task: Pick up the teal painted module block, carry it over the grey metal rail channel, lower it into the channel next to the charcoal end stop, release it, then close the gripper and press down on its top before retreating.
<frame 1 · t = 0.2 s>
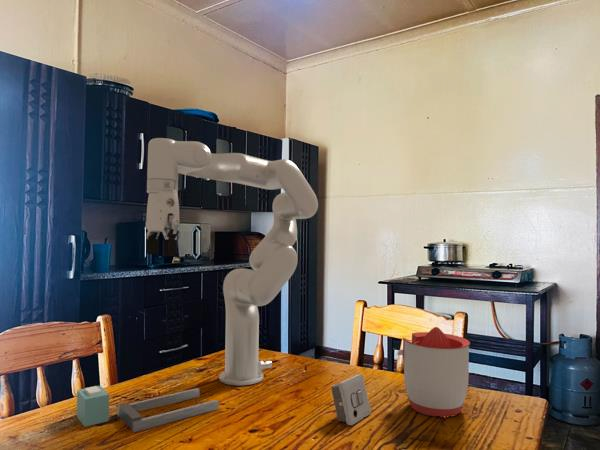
hand: (160, 255, 114), 36 cm above the table, tool pointing down, fingers open, 9 cm apart
electrical switch: (350, 418, 104), on the table
module: (92, 418, 101), on the table
citrus juicer: (431, 408, 110), on the table
rail channel: (168, 412, 105), on the table
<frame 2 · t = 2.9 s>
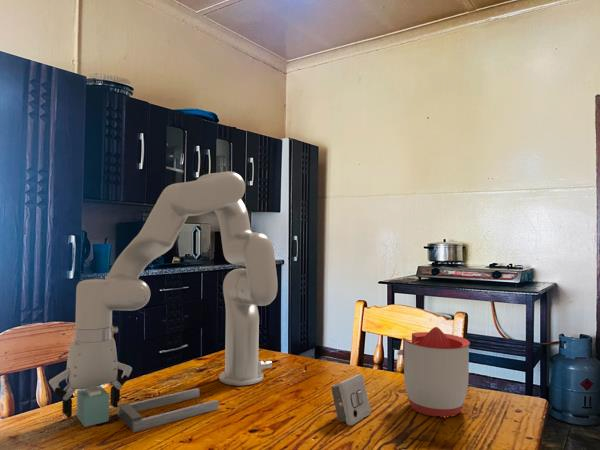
hand: (91, 410, 101), 2 cm above the table, tool pointing down, fingers open, 9 cm apart
nothing on the table moved.
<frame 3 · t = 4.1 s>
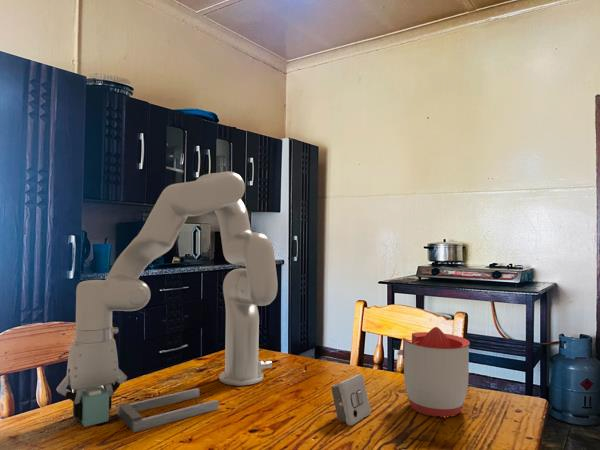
hand: (92, 415, 101), 1 cm above the table, tool pointing down, fingers closed on module, 5 cm apart
module: (92, 418, 101), on the table, touching gripper
everything else where it was.
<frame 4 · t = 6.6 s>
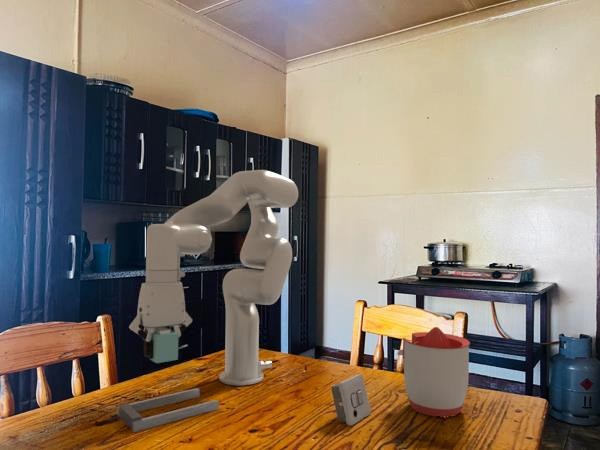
hand: (161, 354, 104), 14 cm above the table, tool pointing down, fingers closed on module, 5 cm apart
module: (161, 357, 104), point 13 cm above the table, touching gripper
everything else where it was.
when the fingers open (2 cm above the table, at t = 9.4 s): module drops 1 cm, resting in rail channel.
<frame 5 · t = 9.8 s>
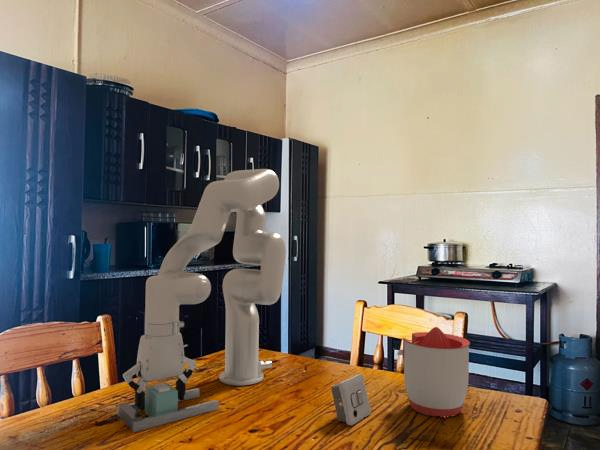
hand: (160, 403, 104), 3 cm above the table, tool pointing down, fingers open, 9 cm apart
module: (160, 414, 104), resting in rail channel
everything else where it was.
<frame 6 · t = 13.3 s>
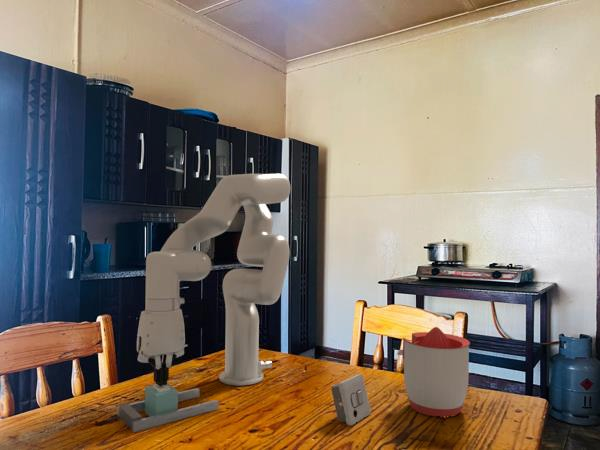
hand: (161, 383, 104), 7 cm above the table, tool pointing down, fingers closed
nothing on the table moved.
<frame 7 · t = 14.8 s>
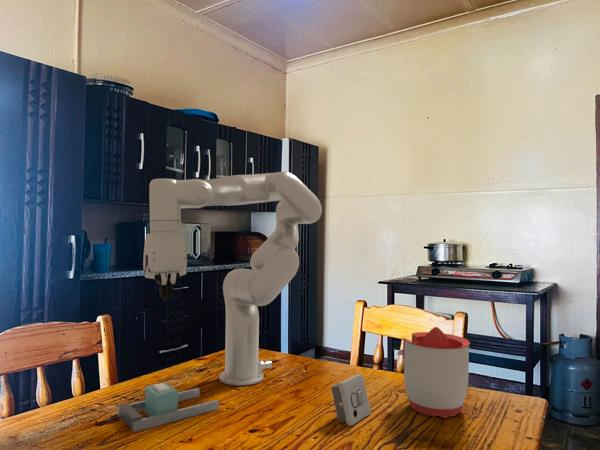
hand: (166, 299, 115), 25 cm above the table, tool pointing down, fingers closed
nothing on the table moved.
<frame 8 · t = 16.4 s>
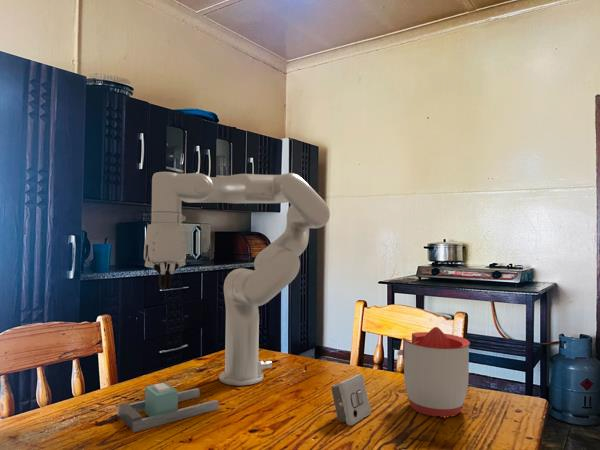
hand: (165, 288, 118), 27 cm above the table, tool pointing down, fingers closed
nothing on the table moved.
at the end: module inside the target area (1.1 cm from its centre), resting in rail channel; module tilted 0°; the gripper is holding nothing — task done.
